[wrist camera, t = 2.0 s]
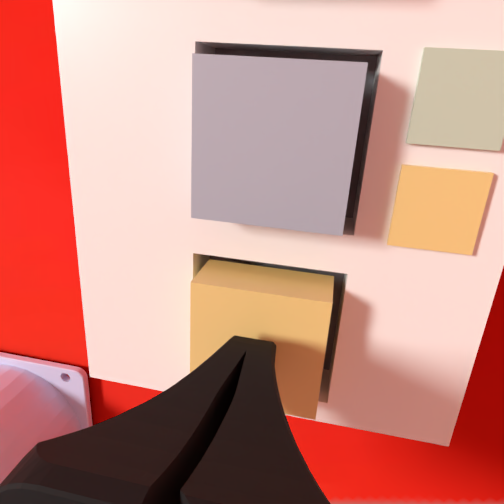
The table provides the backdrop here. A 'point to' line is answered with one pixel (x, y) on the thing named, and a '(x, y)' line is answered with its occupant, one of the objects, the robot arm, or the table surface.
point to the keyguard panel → (291, 241)
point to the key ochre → (266, 322)
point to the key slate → (274, 140)
